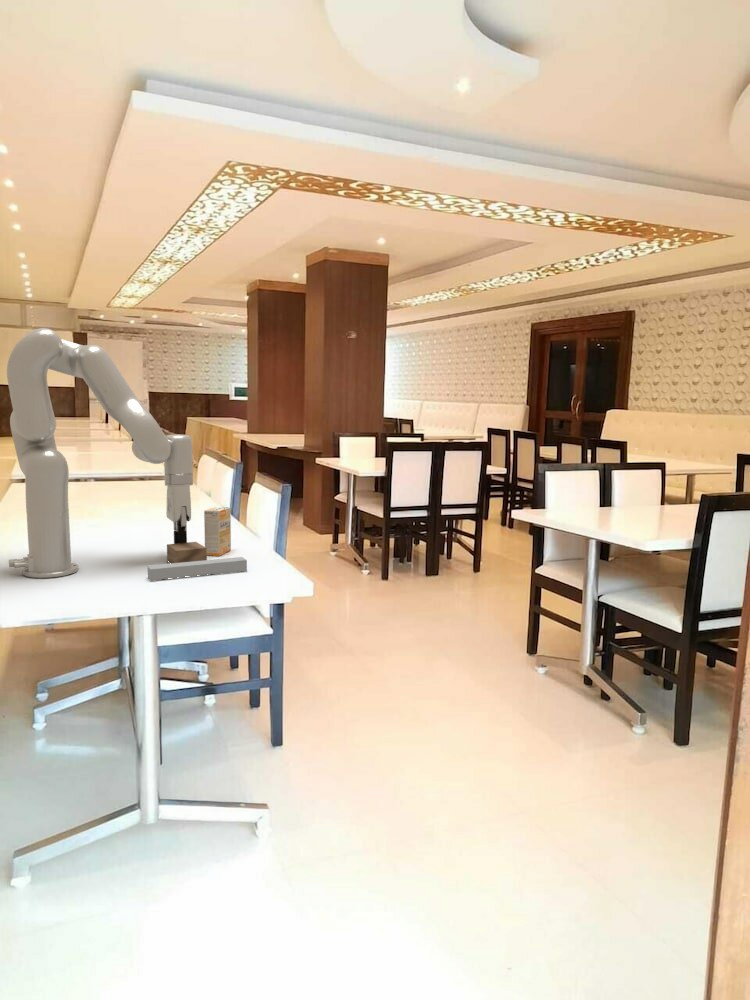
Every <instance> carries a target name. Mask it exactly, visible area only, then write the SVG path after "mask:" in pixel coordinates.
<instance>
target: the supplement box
mask: <svg viewBox="0 0 750 1000" xmlns="http://www.w3.org/2000/svg"><path fill="white" fill-rule="evenodd" d="M231 514H232V513H231V507H230V506H214V507H212V508H209V509H204V510H203V518H204V526H203V527H204V547H206V548H207V556H208V555H213V557H220V556H222V555H224V554H226V553H227V552H229V551H231V550H232V543H231V542H232V540H231V539H232V529H231V528H232V527H231V525H232V524H231V522H232V521H231V520H232V519H231V517H232V516H231Z"/></svg>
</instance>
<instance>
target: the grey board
mask: <svg viewBox="0 0 750 1000" xmlns="http://www.w3.org/2000/svg"><path fill="white" fill-rule="evenodd" d="M247 562H248V560H247V559H246V558H245V557H243V556H236V557H225V558H218V559H207V560H203V561H193V562H182V563H171V564H170V563H164V564H161V563H160V564H151V565H147V578H148V580H149V579H150V580H151V581H150V580H149V581H150V582H154V581H153V580H159V581H162V580H161V579H168V578H177V577H185V576H197V575H207V574H208V576H210V575H209V574H217V575H221V574H220V573H227V574H231V573H230V572H237V573H242V572H241V571H246V572H248V563H247Z"/></svg>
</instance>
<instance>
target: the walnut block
mask: <svg viewBox="0 0 750 1000" xmlns="http://www.w3.org/2000/svg"><path fill="white" fill-rule="evenodd" d="M166 560H168V561H169V562H170V563H182V562H193V561H203V560H208V555H207V548H206V547H205V545H202V544H200V543H199V542H197V541H191V542H188V541H187V543H177V544H174V543H168V544H166ZM170 563H169V564H170Z"/></svg>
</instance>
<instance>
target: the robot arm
mask: <svg viewBox="0 0 750 1000" xmlns="http://www.w3.org/2000/svg"><path fill="white" fill-rule="evenodd" d="M49 370H51V371H55V372H58V373H61V374H65V375H68V376H72V377H75V378H80V379H83V381H84V382H85V384H86V385H87V386H88V388H89V389H90V391H91V392H92V393H93V395H94V396H95V398H96V400H97V401H98V402H99V404H100V405H101V407H102V409H103V410H104V411H105V412H106V414H108V416H110V417H111V418H112V419H113V420H115V421H116V422H117V423H119V424H120V425H121V426H122V428H123V429H125V431H126V432H127V433H128V434H129V436H130V437H131V438H132V440H133V442H132V443H131V451H132V453H133V455H134V456H135V458H137V459H138V460H140V461H142V462H146V463H149V464H153V465H159V464H162V463H164V464H163V466H164V467H163V468H164V471H163V472H164V486H165V487H166V511H165V512H166V518H167V519H168V520H169V521H171V522H172V523H173V544H177V543H188V537H187V536H188V534H187V533H188V532H187V530H188V529H187V522H190V521H191V520H192V499H191V487H192V486H193V485H194V465H193V464H194V463H193V460H194V459H193V458H194V457H193V453H194V452H193V439H192V437H191V436H190V435H188V434H180V433H179V434H173V433H172V434H168V435H166V434H165V433H164V431H163V430H162V428H161V427H160V425H159V423H158V421H156V419H155V418H154V416H153V415H152V414H151V413H150V412H149V410H148V409H147V408H146V407H145V406H144V404H143V403H142V401H141V400H140V399H139V398H138V397H137V396H136V394H135V392H134V391H133V390H132V389H131V387H130V386H129V384H128V382H127V381H126V379H125V378H124V376H123V374H122V373H121V371H120V370H119V368H118V366H117V365H116V364H115V362H114V361H113V359H112V358H111V356H110V355H109V353H108V352H107V351H106V350H105V349H104V348H103V347H102V346H99V345H97V344H86V345H83V344H79V343H76V342H72V341H70V340H67V339H66V340H65V339H64V338H61V337H60V335H59V334H58V333H57V332H56V331H54V330H52V329H50V328H47V327H40V328H35V329H33V330H32V331H30V332H28V333H27V334H26V335H24V337H22V338H21V339H20V340H19V341H18V342H16V344H15V345H14V347H13V348H12V351H11V352H10V355H9V357H8V360H7V366H6V378H7V380H6V381H7V385H8V390H9V397H10V400H11V401H10V402H11V407H12V412H11V414H10V417H9V425H10V432H11V435H12V440H13V444H14V449H15V453H16V457H17V462H18V465H19V468H20V470H21V472H22V473H23V475H24V476H25V477H24V478H25V510H26V512H25V513H26V522H27V523H26V525H27V526H26V527H27V543H28V554H26V556H23V558H21V559H20V558H18V559H17V558H14V559H13V558H11V559H8V565H9V566H8V567H9V568H14V569H18V568H23V570H22V575H23V576H25V577H27V578H34V579H35V578H37V579H38V578H39V579H50V578H57V577H65V576H67V575H68V576H69V575H72V574H74V573H76V572H78V570H79V565H78V564H77V563H74V562H72V551H71V550H72V549H71V548H72V547H71V531H70V527H71V526H70V511H69V508H70V507H69V477H70V476H69V474H70V473H69V471H70V469H69V464H68V462H67V459H66V457H65V456H64V455H63V453H62V452H61V451H59V450H58V449H57V443H56V440H55V435H54V434H55V432H56V428H57V420H56V416H55V414H54V409H53V405H52V401H51V400H52V399H51V396H50V391H49V386H48V371H49ZM190 486H191V487H190Z"/></svg>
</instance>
